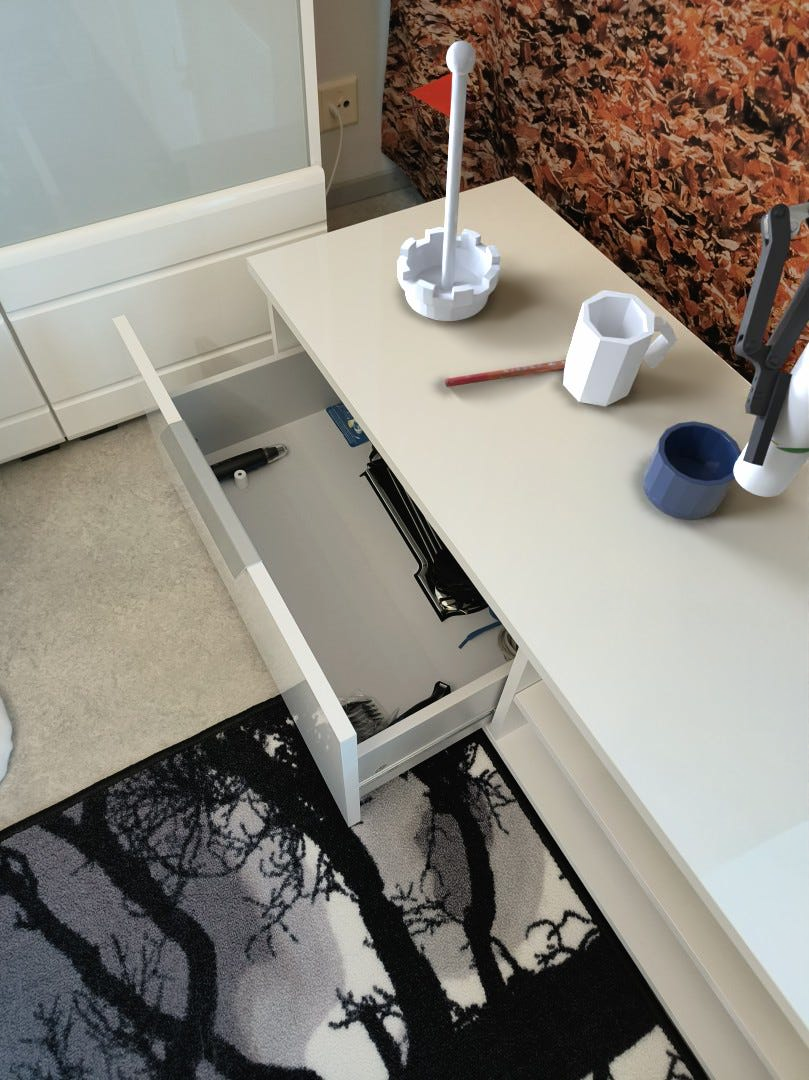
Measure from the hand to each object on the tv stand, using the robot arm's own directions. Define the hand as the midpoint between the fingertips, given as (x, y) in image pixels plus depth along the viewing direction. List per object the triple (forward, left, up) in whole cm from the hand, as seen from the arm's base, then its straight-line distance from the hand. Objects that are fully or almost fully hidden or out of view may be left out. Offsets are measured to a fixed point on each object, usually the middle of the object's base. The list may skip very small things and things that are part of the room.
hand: (788, 470), depth 53 cm
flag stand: (+46, -25, -23) cm, 57 cm away
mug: (+21, -24, -22) cm, 39 cm away
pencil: (+30, -18, -22) cm, 42 cm away
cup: (+7, -14, -22) cm, 27 cm away
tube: (+1, -4, -5) cm, 7 cm away
